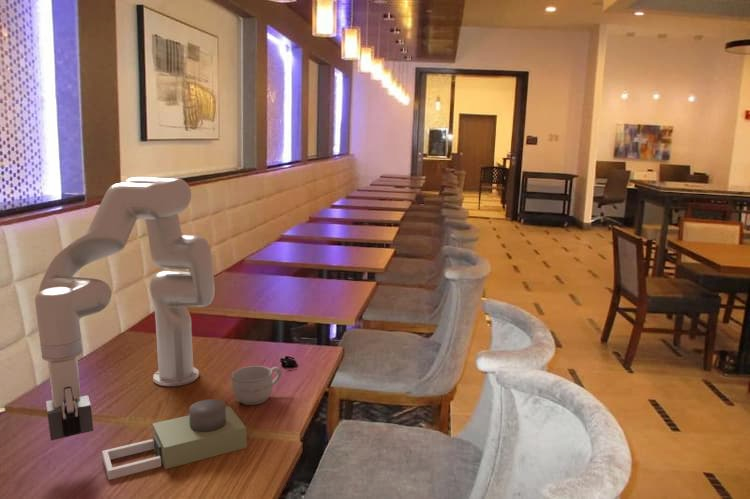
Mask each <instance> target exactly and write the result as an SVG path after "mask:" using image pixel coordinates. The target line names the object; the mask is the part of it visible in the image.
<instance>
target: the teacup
mask: <svg viewBox="0 0 750 499" xmlns="http://www.w3.org/2000/svg"><path fill="white" fill-rule="evenodd" d="M275 372H276V376H275V377H274V379H273V374H274V373H275ZM282 372H283V371H282V369H281V368H279V367H277V366H273V367H271V368H270V367H269V366H268V367H267V366H264V365H250V366H245V367H244V366H243V367H239V368H238V369H236V370H234V371H232V372H231V383H232V384H231V385H232V386H231V387H232V393H233V396H234V398H235V400H237V401H238V402H240V403H241V404H243V405H247V406H248V405H249V406H255V405H256V406H257V405H260V404H262V403H264V402H266V400H267V399H268V398H270V396H271V395H272V393H273V387H274V386H275V385H276V384H277V383H278V382H279V381H280V379H281V378H282Z"/></svg>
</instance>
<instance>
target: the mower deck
mask: <svg viewBox="0 0 750 499" xmlns="http://www.w3.org/2000/svg"><path fill="white" fill-rule="evenodd" d="M152 437H153V439H152V438H151V439H147V440H143V441H139V442H134V443H130V444H126V445H121V446H117V447H113V448H109V449H105V450H102V451H101V452H102V455H101V456H102V460H103V461H102V462H103V465H104V468H105V472H106V475H107V479H108V481H110V480H113V479H118V478H122V477H125V476H129V475H133V474H137V473H140V472H141V473H142V472H145V471H148V470H149V471H150V470H152V469H155V468H156V469H157V468H160V467H162V465H163V467H164V469H165V470H167V469H171V468H175V467H178V466H181V465H185V464H189V463H193V462H197V461H201V460H202V461H203V460H205V459H210V458H212V457H216V456H221V455H224V454H227V453H232V452H235V451H240V450H243V449H246V448H247V447H248V446H247V445H248V443H247V442H248V441H247V427H246V425H245V424H244V423H243V422H242V420H241V419H240V418H239V416H238V415H237V414H236V413H235V410H233V408H232V407H231V406H230V405H229V406H226V403H225V402H223V401H222V400H219V399H211V398H210V399H204V400H199V401H197V402H194V403H192V404H191V405H190V406H189V408H188V415H184V416H180V417H175V418H172V419H167V420H162V421H157V422H154V423H152ZM152 450H155V453H156V455H157V456H153V457H149V458H146V459H145V458H144V459H142V460H141V459H140V460H137V461H134V462H130V463H125V464H121V465H118V466H114V467H113V466H112V465H113V464H112V462H111V460H116V459H118V458H124V457H126V456H131V455H134V454H139V453H140V454H141V453H143V452H147V451H152Z"/></svg>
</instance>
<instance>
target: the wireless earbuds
mask: <svg viewBox="0 0 750 499" xmlns="http://www.w3.org/2000/svg"><path fill="white" fill-rule="evenodd" d="M279 360H280V361H279V362H280V363H281V367H282V368H286V367H293V368H296V366H297V360H296V359H295V357H292V356H287V355H285V356H284V358H283V357H281V358H280V359H279Z"/></svg>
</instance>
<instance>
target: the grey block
mask: <svg viewBox="0 0 750 499" xmlns="http://www.w3.org/2000/svg"><path fill="white" fill-rule="evenodd" d="M89 398H90V397H89V395H88V394H87V395H81V396H80V401H79V402H78V403H77V412H78V414H79V419H80V428H81V432H80V433H77V434H73V435H68V436H64V434H63V425H62V418H63V413H62V406H59V407H58V408H56V407H54V405H53V400H52V399H50V400H46V401H45V403H46V413H47V420H48V429H49V436H50V441H55V440H59V439H60V440H61V439H64V438H68V437H73V436H76V435H77V436H78V435H81V434H86V433H90V432H94V424H93V423H94V422H93V415H92V406H91V405H92V404H91V402H90V399H89ZM72 400H73V401H74V399H72ZM63 403H66V401H63ZM73 407H74V405H73ZM65 410H67V407H65Z"/></svg>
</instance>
